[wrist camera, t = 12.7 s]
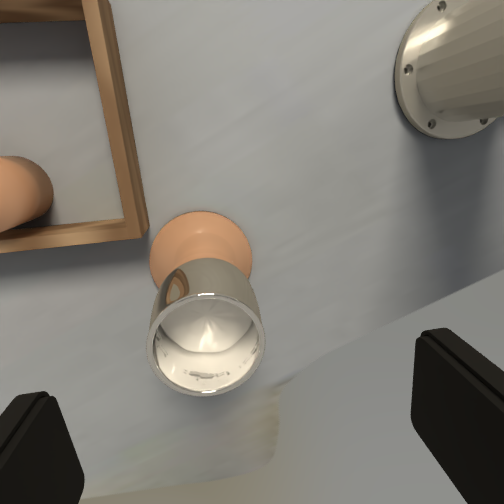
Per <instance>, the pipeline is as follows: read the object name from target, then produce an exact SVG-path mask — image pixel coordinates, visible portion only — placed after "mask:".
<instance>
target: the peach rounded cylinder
mask: <svg viewBox="0 0 504 504" xmlns="http://www.w3.org/2000/svg"><path fill="white" fill-rule="evenodd" d="M53 195H54V194H53V186H52V183H51V181H50V178H49V177H48V175H47V174H46V172H45V171H44V170H43V169H42V168H41V167H40V166H39V165H37V164H36V163H34V162H33V161H31V160H29V159H26V158H23V157H19V156H0V232H3V231H5V230H8V229H10V228H13V227H16V226H18V225H21V224H23V223H26V222H28V221H31V220H33V219H36V218H38V217H40V216H42V215H43V214H44V213H46V212H47V210H48V209H49V208H50V206H51V204H52V201H53Z"/></svg>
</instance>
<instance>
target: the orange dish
mask: <svg viewBox="0 0 504 504" xmlns="http://www.w3.org/2000/svg"><path fill="white" fill-rule="evenodd" d="M200 232H211V233H215V234H217V235H220V236H221V237H223V238H224V239H226V240H227V241H228V242H229V243H230V244H231V246H232V247H233V249H234V252H235V255H236V265H237V266H238V267H239V269H240V270H241V271H242V272H243V274H244V275H245V276H246V278H247V279H248V278H249V275H250V272H251V267H252V254H251V249H250V246H249V243H248V241H247V239H246V237H245V235H244V233H243V232H242V231H241V229H240V228H239V227H238V226H237V225H236V224H235V223H234V222H232V221H231V220H230V219H228V218H226V217H224V216H222V215H220V214H217V213H213V212H209V211H194V212H188V213H185V214H182V215H180V216H177V217H175V218H174V219H172V220H171V221H169V222H168V223H167V224H166V225H165V226H164V227H163V228H162V229H161V230H160V232H159V233H158V234H157V236H156V238H155V240H154V242H153V244H152V247H151V251H150V261H149V263H150V270H151V274H152V277H153V279H154V281H155V283H156V285H157V287H158V288H160V286H161V284H162V282H163V280H164V279H165V278H166V276H167V275H168V273H169V272H170V271H171V269H172V268H173V267H174V255H175V252H176V249H177V247H178V246H179V244H180V243H181V242H182V241H183V240H184V239H186V238H187V237H189V236H190V235H193V234H195V233H200Z"/></svg>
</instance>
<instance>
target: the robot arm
mask: <svg viewBox="0 0 504 504" xmlns="http://www.w3.org/2000/svg"><path fill="white" fill-rule="evenodd" d="M404 70H405V73H404ZM395 88H396V93H397V98H398V102H399V104H400V107H401V109H402V111H403V113H404V115H405V116H406V118H407V119H408V120H409V122H410V123H411V124H412V125H413V126H414V127H415V128H416V129H417V130H419V131H420V132H422V133H424V134H426V135H428V136H430V137H434V138H438V139H457V138H463V137H467V136H470V135H473V134H475V133H477V132H479V131H481V130H483V129H484V128H486V127H487V126H488V125H489V124H491V123H492V122H493V121H494V120H495V119H496V118H497V117H502V116H504V0H433V1H432V2H431V3H430V4H428V5H427V6H426V7H425V8H423V10H422V11H421V12H420V13H419V14H418V15H417V16H416V18H415V19H414V20H413V21H412V23H411V25H410V26H409V28H408V30H407V31H406V33H405V35H404V38H403V40H402V42H401V45H400V47H399V51H398V55H397V59H396V67H395ZM413 374H414V375H413V388H412V403H411V421H412V424H413V427H414V429H415V430H416V432H417V433H418V435H419V436H420V438H421V439H422V440H423V442H424V443H425V445H426V446H427V447H428V449H429V450H430V452H431V453H432V454H433V456H434V457H435V459H436V460H437V461H438V463H439V464H440V465H441V467H442V468H443V470H444V471H445V473H446V474H447V475H448V477H449V478H450V479H451V481H452V482H453V484H454V485H455V487H456V488H457V490H458V491H459V492H460V494H461V495H462V496H463V498H464V499H465V501H466V502H467V503H468V504H504V371H502V370H501V369H500V368H499V367H497V366H496V365H495V364H493V363H492V362H491V361H489V360H488V359H487V358H486V357H484V356H483V355H482V354H481V353H479V352H478V351H476V350H475V349H474V348H473V347H472V346H470V345H469V344H468V343H466V342H465V341H464V340H462V339H461V338H460V337H458V336H457V335H456V334H455V333H453V332H452V331H451V330H449V329H448V328H438V329H432V330H426V331H423V332H422V333H421V336H420V337H419V338H417V339H416V344H415V359H414V373H413ZM84 480H85V479H84V473H83V470H82V467H81V465H80V462H79V459H78V456H77V454H76V451H75V448H74V446H73V443H72V440H71V437H70V435H69V432H68V429H67V427H66V424H65V421H64V418H63V416H62V413H61V410H60V408H59V405H58V402H57V400H56V398H55V397H54V396H49V394H48V393H47V392H45V391H41V392H35V393H28V394H22V395H18V396H16V397H15V398H14V399H13V400H12V402H11V403H10V404H9V405H8V407H7V408H6V409H5V411H4V412H3V413H2V414H1V416H0V504H78V503H79V500H80V497H81V495H82V492H83V489H84Z"/></svg>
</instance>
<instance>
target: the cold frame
mask: <svg viewBox="0 0 504 504" xmlns="http://www.w3.org/2000/svg"><path fill="white" fill-rule="evenodd" d="M76 20H86V25H87V30H88V36H89V41H90V46H91V51H92V56H93V61H94V66H95V71H96V76H97V81H98V86H99V91H100V96H101V101H102V106H103V111H104V116H105V121H106V126H107V131H108V137H109V142H110V147H111V152H112V157H113V162H114V167H115V172H116V177H117V182H118V187H119V192H120V197H121V202H122V207H123V212H124V217H125V218H123V219H113V220H103V221H93V222H83V223H73V224H64V225H54V226H44V227H34V228H24V229H14V230H5V231H3V232H0V253H6V252H15V251H25V250H34V249H43V248H52V247H62V246H71V245H80V244H89V243H99V242H108V241H117V240H126V239H135V238H142V236H143V235H144V233H145V232H146V231H147V229H148V228H149V220H148V214H147V208H146V203H145V197H144V191H143V186H142V180H141V174H140V169H139V163H138V157H137V152H136V146H135V140H134V135H133V129H132V123H131V117H130V112H129V106H128V100H127V95H126V89H125V83H124V78H123V72H122V66H121V61H120V55H119V49H118V44H117V38H116V32H115V26H114V21H113V15H112V9H111V4H110V3H109V1H108V0H0V23H14V22H45V21H76Z"/></svg>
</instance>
